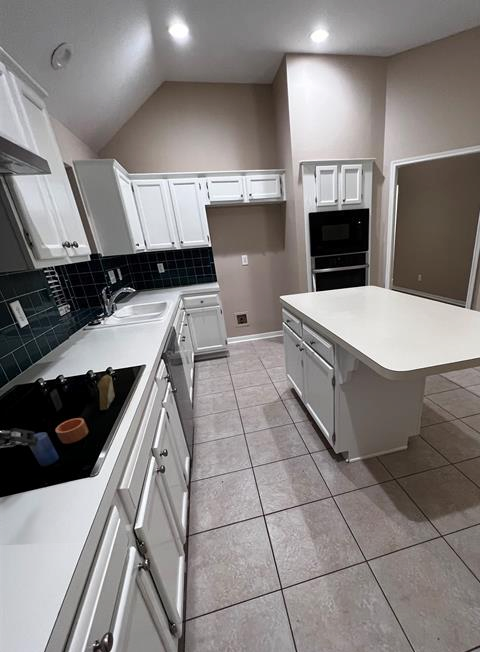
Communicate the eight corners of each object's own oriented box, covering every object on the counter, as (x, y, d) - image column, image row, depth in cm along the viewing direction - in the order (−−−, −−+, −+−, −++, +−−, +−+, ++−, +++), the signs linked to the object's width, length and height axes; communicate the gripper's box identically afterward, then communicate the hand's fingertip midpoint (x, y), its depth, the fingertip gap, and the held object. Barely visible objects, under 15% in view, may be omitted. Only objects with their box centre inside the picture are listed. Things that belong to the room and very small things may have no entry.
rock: (109, 406, 106) (127, 388, 114) (87, 389, 103) (107, 372, 111) (96, 419, 111) (114, 401, 119) (75, 404, 109) (95, 386, 117)
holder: (56, 438, 95) (51, 428, 94) (82, 425, 101) (77, 415, 99) (66, 446, 91) (61, 435, 90) (92, 433, 97) (88, 422, 95)
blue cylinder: (37, 462, 86) (24, 439, 82) (55, 453, 89) (43, 430, 86) (43, 468, 83) (29, 444, 80) (61, 458, 87) (49, 435, 83)
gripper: (-5, 410, 63) (49, 424, 78) (-84, 422, 61) (-13, 434, 76) (-10, 448, 60) (47, 455, 75) (-93, 461, 59) (-18, 466, 74)
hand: (17, 444), depth 76 cm, fingers open, 8 cm apart
